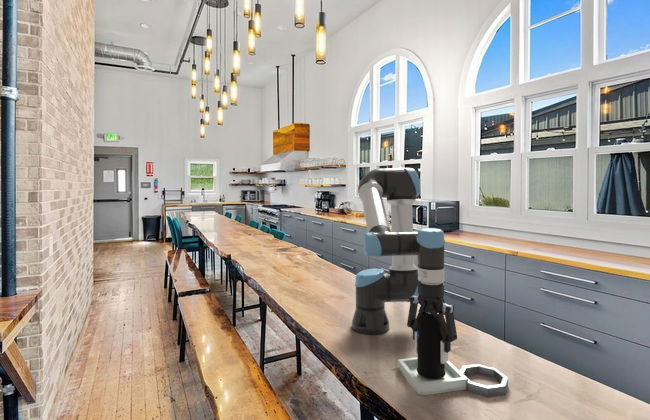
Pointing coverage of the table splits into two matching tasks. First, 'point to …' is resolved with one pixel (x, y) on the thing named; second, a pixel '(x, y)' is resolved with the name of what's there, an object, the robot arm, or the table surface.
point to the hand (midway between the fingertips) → (431, 356)
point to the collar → (483, 389)
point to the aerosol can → (429, 347)
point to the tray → (426, 386)
